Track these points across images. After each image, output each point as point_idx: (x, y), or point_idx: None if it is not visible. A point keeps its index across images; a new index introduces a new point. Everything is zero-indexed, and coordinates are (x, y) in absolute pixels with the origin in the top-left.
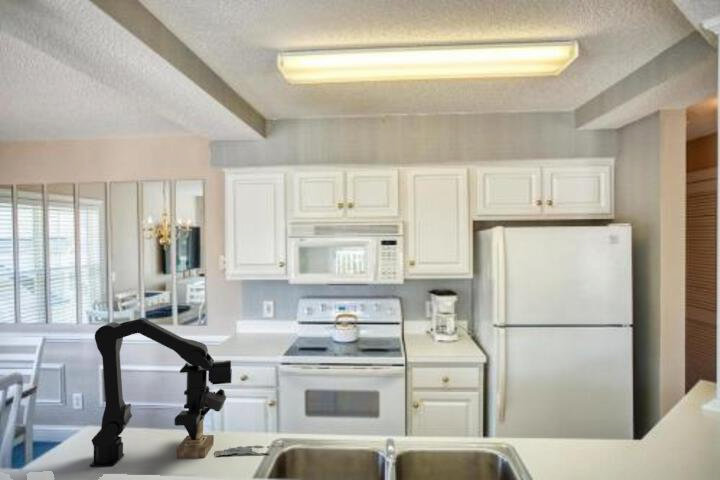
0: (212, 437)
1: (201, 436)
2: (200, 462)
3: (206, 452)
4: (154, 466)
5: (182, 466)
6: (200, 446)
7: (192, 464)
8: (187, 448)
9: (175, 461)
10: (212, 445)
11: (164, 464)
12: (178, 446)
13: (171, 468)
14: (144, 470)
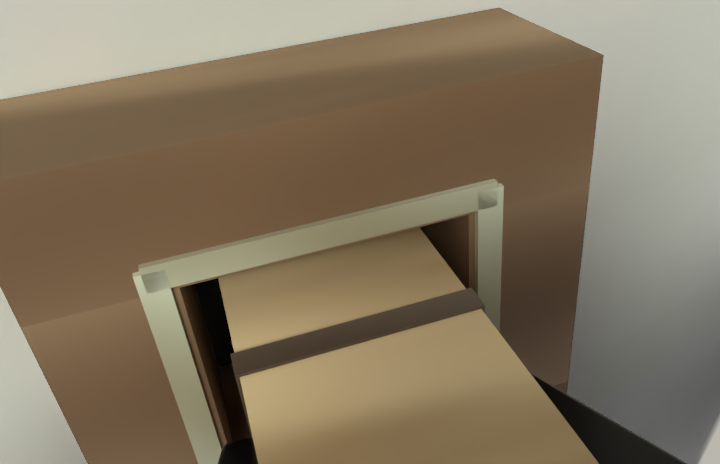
0: (70, 157)
1: (361, 336)
2: (633, 4)
3: (448, 33)
4: (628, 424)
5: (686, 184)
6: (561, 164)
7: (665, 91)
8: (564, 329)
9: None
10: (69, 92)
11: (607, 376)
12: None
13: (700, 268)
14: (678, 444)
